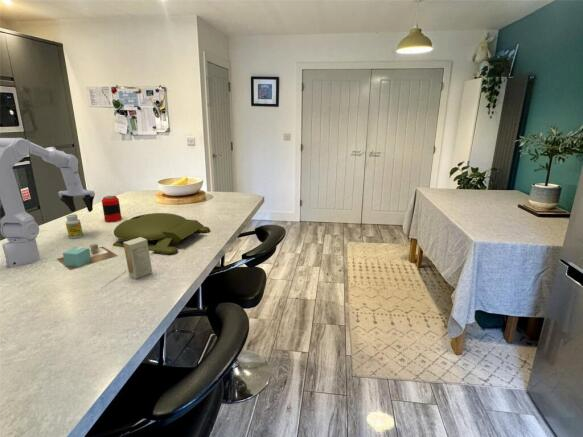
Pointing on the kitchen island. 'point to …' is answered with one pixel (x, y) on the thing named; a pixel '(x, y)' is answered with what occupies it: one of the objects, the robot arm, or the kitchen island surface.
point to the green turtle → (158, 230)
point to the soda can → (111, 209)
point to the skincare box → (137, 257)
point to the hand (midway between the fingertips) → (82, 211)
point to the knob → (77, 256)
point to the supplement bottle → (73, 226)
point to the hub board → (93, 256)
